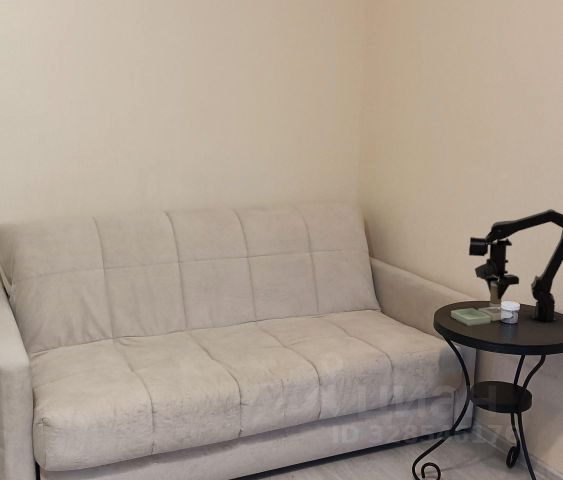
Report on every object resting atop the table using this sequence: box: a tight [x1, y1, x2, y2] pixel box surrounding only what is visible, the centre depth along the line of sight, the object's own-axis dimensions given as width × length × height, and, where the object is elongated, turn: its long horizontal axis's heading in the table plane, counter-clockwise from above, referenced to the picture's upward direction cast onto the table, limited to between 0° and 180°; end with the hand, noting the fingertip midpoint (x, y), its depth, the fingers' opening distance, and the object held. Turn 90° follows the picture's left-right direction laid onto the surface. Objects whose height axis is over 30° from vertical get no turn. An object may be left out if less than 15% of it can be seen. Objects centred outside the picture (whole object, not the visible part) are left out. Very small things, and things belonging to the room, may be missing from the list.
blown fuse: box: [489, 280, 502, 308], centre depth 254 cm, size 4×4×9 cm
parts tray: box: [450, 307, 491, 327], centre depth 251 cm, size 11×9×2 cm
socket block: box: [477, 306, 502, 322], centre depth 255 cm, size 9×9×2 cm
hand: (495, 297), depth 254 cm, fingers closed on blown fuse, 4 cm apart
